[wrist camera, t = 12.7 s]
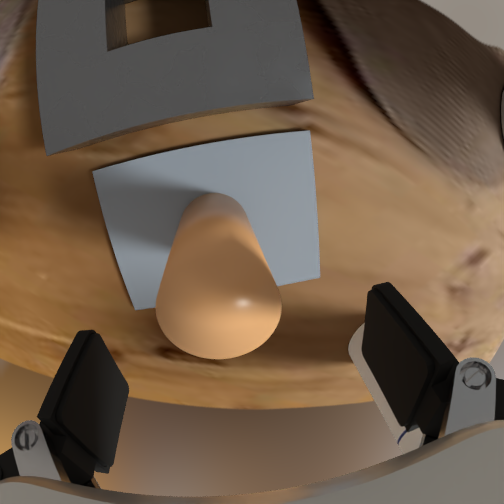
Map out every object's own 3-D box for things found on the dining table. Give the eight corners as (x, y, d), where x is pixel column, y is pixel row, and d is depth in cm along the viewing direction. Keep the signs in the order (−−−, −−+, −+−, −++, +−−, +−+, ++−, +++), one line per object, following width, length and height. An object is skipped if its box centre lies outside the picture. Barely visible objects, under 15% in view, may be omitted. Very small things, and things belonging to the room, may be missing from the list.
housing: (259, -59, 12) (271, -91, 8) (290, 105, 19) (313, 98, 14) (68, -17, 11) (44, -39, 7) (79, 148, 18) (46, 156, 13)
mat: (307, 130, 20) (309, 130, 19) (317, 274, 25) (320, 277, 24) (95, 170, 19) (92, 171, 18) (136, 306, 24) (135, 310, 23)
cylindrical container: (338, 339, 28) (448, 556, 6) (394, 300, 28) (538, 489, 5) (360, 370, 31) (448, 544, 9) (408, 337, 30) (518, 495, 8)
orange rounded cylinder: (242, 186, 20) (274, 242, 10) (252, 250, 22) (286, 346, 12) (173, 200, 20) (138, 269, 10) (188, 263, 22) (176, 366, 12)
